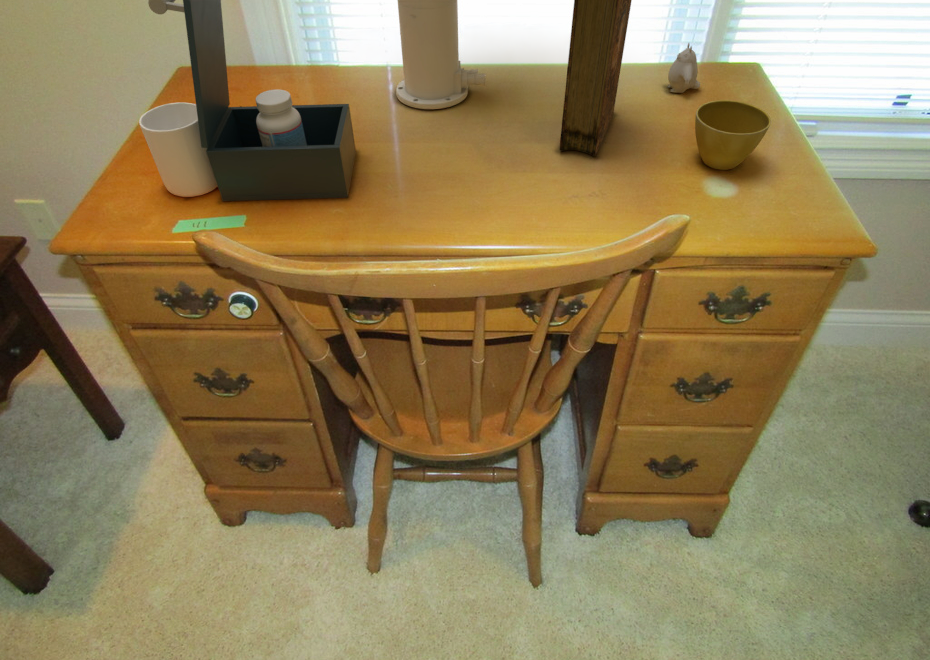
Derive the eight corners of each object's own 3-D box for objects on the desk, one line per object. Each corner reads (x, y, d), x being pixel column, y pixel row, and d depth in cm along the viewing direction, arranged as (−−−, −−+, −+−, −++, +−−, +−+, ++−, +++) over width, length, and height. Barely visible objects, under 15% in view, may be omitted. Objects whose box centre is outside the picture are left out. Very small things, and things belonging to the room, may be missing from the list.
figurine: (660, 80, 114) (670, 35, 108) (693, 79, 114) (704, 34, 108) (670, 100, 108) (681, 54, 103) (705, 99, 108) (717, 53, 103)
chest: (356, 151, 98) (348, 103, 92) (348, 197, 89) (339, 147, 83) (242, 155, 98) (227, 106, 92) (222, 201, 89) (205, 151, 83)
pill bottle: (316, 160, 95) (301, 87, 87) (305, 182, 90) (288, 107, 82) (277, 158, 95) (258, 85, 87) (264, 181, 91) (243, 106, 83)
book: (582, 106, 107) (603, -62, 89) (614, 111, 106) (642, -59, 88) (558, 154, 96) (576, -27, 79) (594, 160, 95) (621, -23, 77)
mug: (180, 156, 97) (156, 91, 90) (234, 153, 98) (214, 88, 90) (159, 200, 89) (130, 132, 82) (218, 197, 89) (195, 129, 82)
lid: (217, -35, 79) (169, -44, 78) (190, 0, 70) (134, -10, 69) (229, 104, 92) (187, 98, 91) (207, 148, 83) (161, 142, 82)
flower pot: (692, 179, 91) (704, 133, 86) (678, 143, 98) (689, 99, 93) (763, 180, 91) (780, 134, 85) (744, 144, 98) (759, 100, 92)
